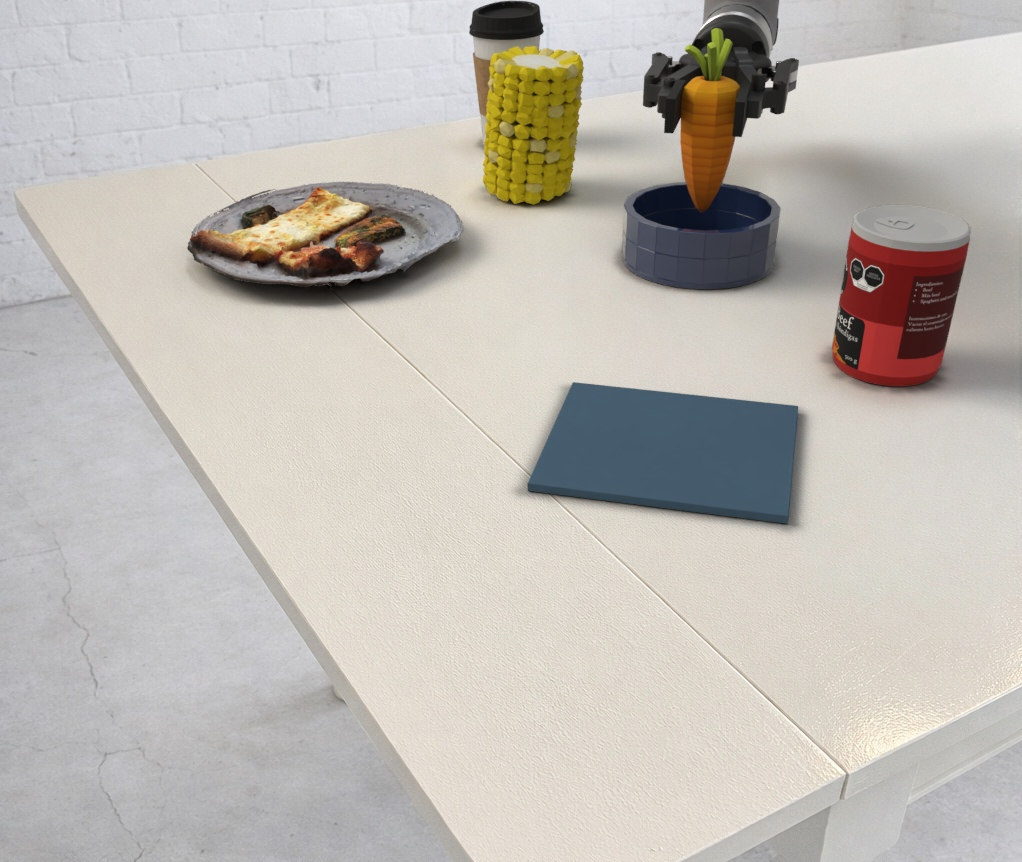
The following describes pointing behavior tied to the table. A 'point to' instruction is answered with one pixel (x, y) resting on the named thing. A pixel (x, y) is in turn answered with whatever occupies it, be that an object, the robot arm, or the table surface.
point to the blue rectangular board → (671, 452)
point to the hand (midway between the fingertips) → (704, 117)
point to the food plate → (324, 233)
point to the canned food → (899, 293)
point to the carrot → (708, 122)
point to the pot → (700, 237)
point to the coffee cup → (501, 39)
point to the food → (531, 123)
